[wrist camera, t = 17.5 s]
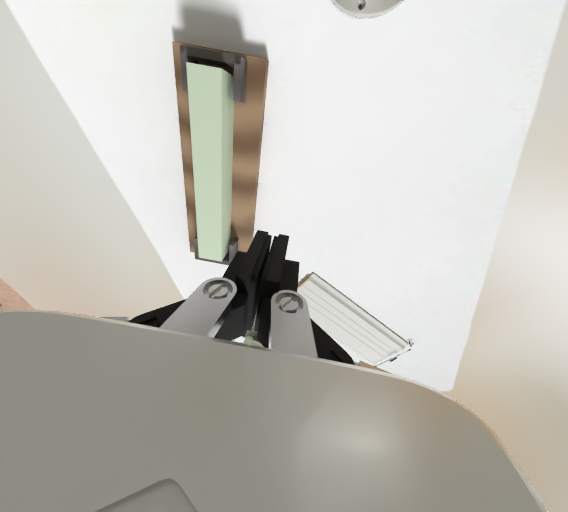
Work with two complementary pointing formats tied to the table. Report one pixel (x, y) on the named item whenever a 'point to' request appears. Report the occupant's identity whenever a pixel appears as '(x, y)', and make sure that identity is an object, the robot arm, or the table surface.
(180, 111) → the endcap board
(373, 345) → the baseboard molding
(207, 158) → the slat
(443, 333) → the table surface
